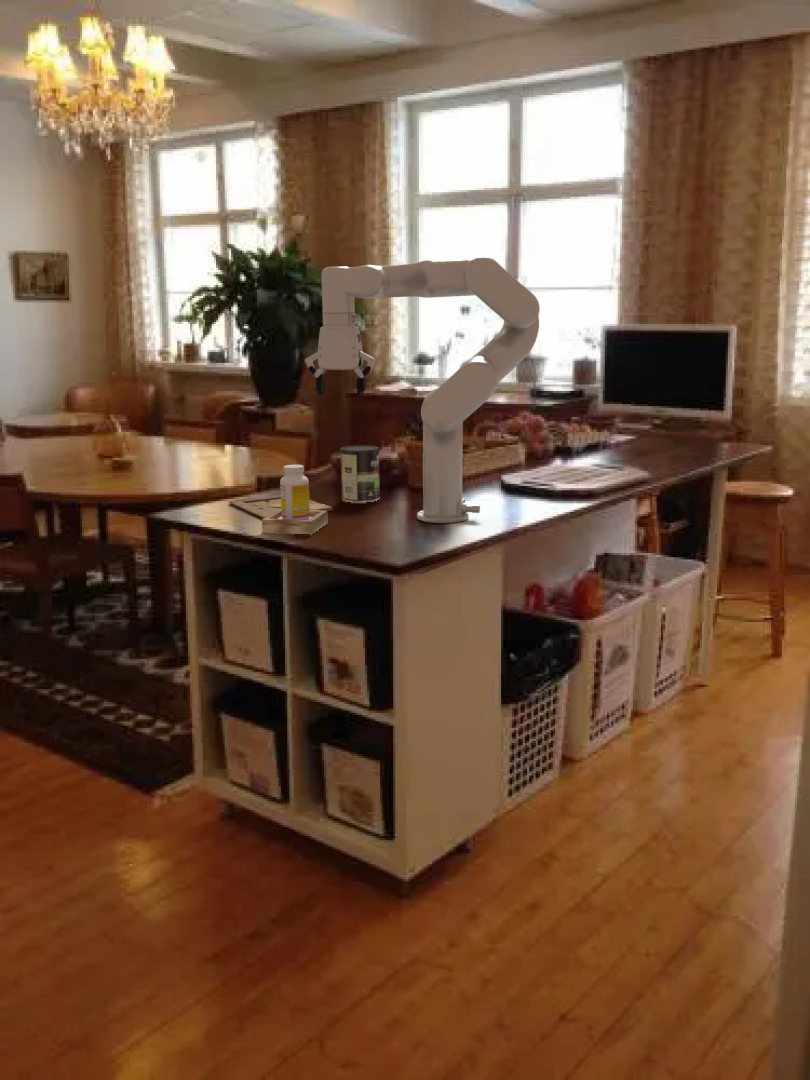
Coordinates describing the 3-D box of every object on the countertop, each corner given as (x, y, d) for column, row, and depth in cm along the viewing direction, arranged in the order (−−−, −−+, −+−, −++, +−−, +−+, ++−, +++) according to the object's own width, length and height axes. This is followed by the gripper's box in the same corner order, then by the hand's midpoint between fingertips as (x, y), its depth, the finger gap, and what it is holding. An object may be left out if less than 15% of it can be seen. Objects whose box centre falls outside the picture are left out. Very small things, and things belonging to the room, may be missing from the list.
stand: (327, 523, 234) (327, 510, 233) (311, 535, 223) (311, 521, 222) (280, 521, 237) (280, 508, 236) (262, 533, 226) (261, 519, 225)
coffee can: (383, 496, 265) (383, 445, 262) (375, 504, 256) (374, 451, 252) (347, 495, 267) (345, 444, 264) (337, 503, 258) (335, 450, 254)
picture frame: (332, 514, 248) (292, 498, 267) (332, 507, 247) (292, 492, 267) (265, 523, 238) (228, 506, 258) (264, 516, 238) (228, 500, 258)
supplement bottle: (315, 518, 231) (313, 464, 228) (300, 524, 225) (298, 469, 222) (291, 515, 234) (289, 463, 231) (276, 521, 228) (274, 467, 225)
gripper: (378, 320, 230) (379, 393, 235) (309, 320, 234) (311, 392, 239) (370, 321, 223) (371, 396, 227) (298, 321, 227) (301, 395, 231)
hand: (340, 394), depth 233 cm, fingers open, 9 cm apart
